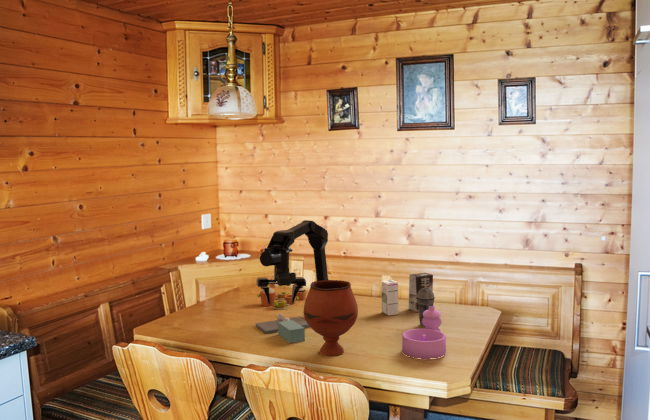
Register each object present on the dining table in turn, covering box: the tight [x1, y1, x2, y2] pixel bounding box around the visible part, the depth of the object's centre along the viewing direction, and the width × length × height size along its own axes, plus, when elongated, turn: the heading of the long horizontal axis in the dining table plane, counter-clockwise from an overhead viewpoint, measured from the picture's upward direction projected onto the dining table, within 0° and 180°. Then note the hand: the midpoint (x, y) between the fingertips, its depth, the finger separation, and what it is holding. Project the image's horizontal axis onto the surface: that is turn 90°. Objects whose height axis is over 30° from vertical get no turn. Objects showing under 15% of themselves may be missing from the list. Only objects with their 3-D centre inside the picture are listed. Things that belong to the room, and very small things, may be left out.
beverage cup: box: [417, 278, 436, 327], centre depth 235 cm, size 7×7×20 cm
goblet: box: [303, 279, 359, 357], centre depth 204 cm, size 19×19×25 cm
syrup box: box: [381, 279, 399, 316], centre depth 254 cm, size 6×6×14 cm
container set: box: [401, 305, 447, 359], centre depth 208 cm, size 25×15×13 cm, turn 158°
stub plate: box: [255, 313, 311, 335], centre depth 237 cm, size 20×12×4 cm, turn 117°
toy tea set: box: [256, 285, 307, 310], centre depth 275 cm, size 26×16×10 cm, turn 150°
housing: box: [277, 320, 306, 344], centre depth 222 cm, size 6×12×5 cm, turn 27°
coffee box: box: [408, 272, 434, 313], centre depth 260 cm, size 9×6×16 cm
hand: (280, 303), depth 223 cm, fingers open, 9 cm apart
